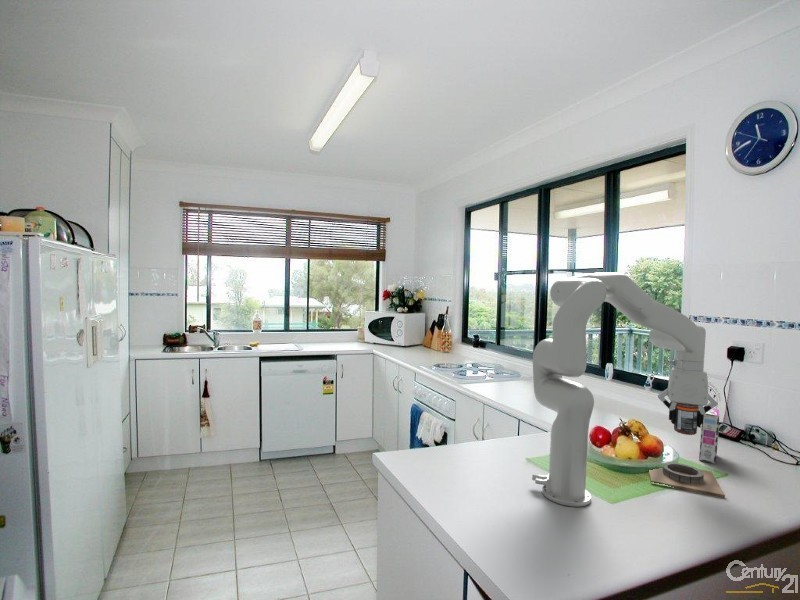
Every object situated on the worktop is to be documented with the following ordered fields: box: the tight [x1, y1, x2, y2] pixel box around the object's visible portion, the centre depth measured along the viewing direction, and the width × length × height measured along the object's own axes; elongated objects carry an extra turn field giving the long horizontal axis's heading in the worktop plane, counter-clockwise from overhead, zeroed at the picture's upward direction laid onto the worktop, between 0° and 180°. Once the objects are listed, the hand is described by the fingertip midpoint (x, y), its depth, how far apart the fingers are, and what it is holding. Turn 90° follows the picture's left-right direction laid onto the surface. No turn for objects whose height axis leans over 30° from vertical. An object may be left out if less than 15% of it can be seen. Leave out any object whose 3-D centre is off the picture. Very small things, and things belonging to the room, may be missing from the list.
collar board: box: [648, 462, 726, 499], centre depth 136 cm, size 18×18×3 cm
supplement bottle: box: [673, 403, 698, 436], centre depth 135 cm, size 6×6×11 cm
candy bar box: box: [698, 408, 720, 464], centre depth 155 cm, size 11×5×16 cm, turn 145°
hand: (685, 423), depth 135 cm, fingers closed on supplement bottle, 6 cm apart
